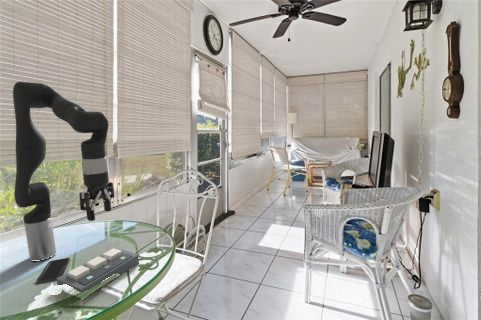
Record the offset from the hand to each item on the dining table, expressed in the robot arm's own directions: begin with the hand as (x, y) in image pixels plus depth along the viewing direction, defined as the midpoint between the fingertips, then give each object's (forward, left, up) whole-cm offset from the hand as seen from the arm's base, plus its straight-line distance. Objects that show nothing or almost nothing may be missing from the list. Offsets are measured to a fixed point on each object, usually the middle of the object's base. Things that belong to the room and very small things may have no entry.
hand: (100, 215), depth 90 cm
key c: (-8, +9, -23) cm, 26 cm away
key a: (-8, -5, -23) cm, 25 cm away
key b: (-8, +2, -23) cm, 25 cm away
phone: (-26, -4, -27) cm, 38 cm away
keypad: (-6, +2, -26) cm, 27 cm away
